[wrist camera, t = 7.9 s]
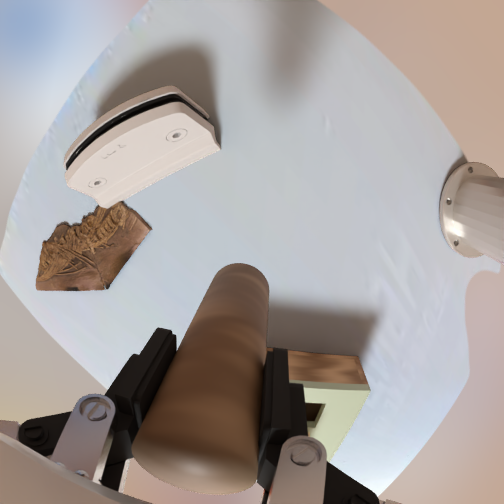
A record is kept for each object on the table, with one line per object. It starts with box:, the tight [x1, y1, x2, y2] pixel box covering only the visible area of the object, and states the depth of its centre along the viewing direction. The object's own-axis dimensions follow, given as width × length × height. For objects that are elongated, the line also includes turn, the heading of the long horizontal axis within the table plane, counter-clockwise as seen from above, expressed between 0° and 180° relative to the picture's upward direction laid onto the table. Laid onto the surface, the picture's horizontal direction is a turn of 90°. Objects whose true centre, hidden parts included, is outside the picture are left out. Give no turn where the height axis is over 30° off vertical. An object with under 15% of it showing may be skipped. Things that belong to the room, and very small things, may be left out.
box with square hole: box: [266, 347, 368, 421], centre depth 37 cm, size 15×22×6 cm
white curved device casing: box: [64, 86, 221, 209], centre depth 27 cm, size 17×5×10 cm, turn 113°
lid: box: [289, 380, 371, 462], centre depth 32 cm, size 15×22×6 cm
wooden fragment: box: [36, 201, 152, 291], centre depth 35 cm, size 26×11×1 cm, turn 110°
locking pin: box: [131, 263, 269, 495], centre depth 12 cm, size 4×4×12 cm
